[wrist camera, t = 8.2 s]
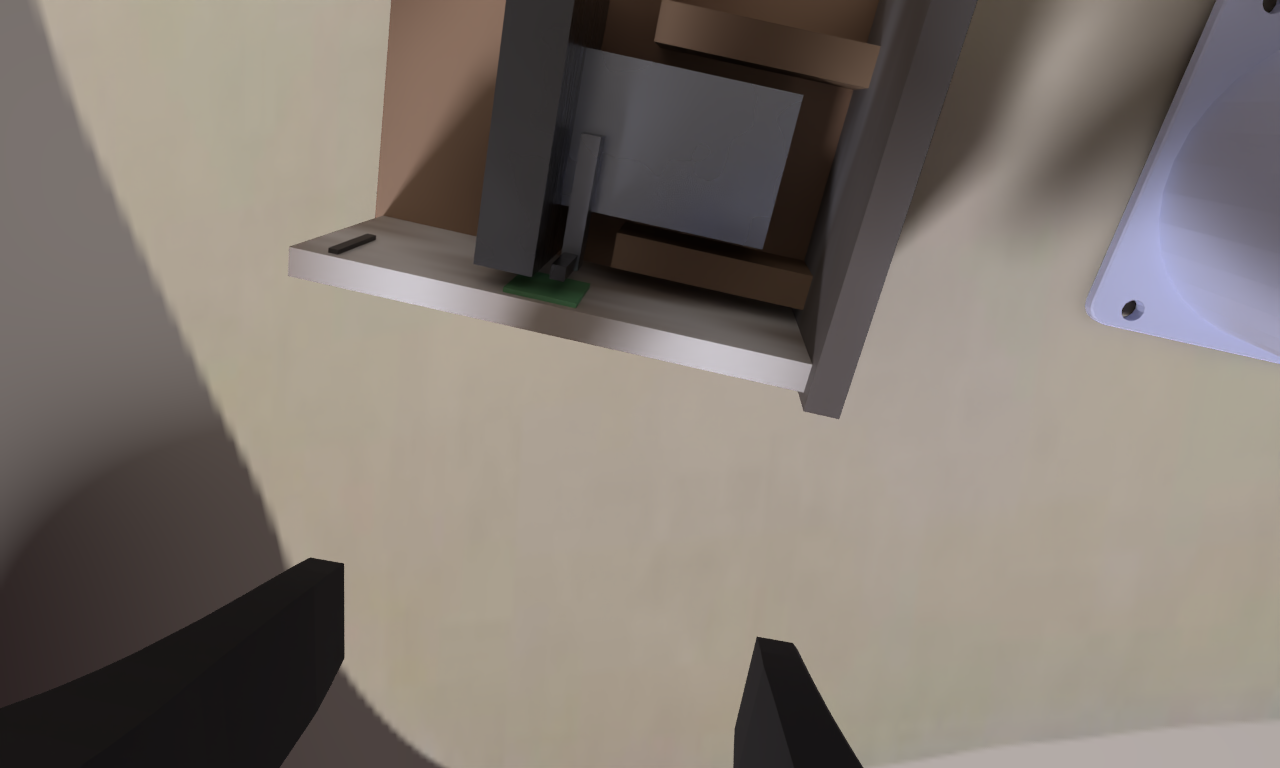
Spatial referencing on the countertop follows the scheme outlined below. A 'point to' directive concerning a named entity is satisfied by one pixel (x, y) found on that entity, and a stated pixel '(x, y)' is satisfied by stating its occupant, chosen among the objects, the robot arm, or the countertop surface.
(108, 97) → the countertop surface
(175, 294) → the countertop surface
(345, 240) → the miniature room diorama
